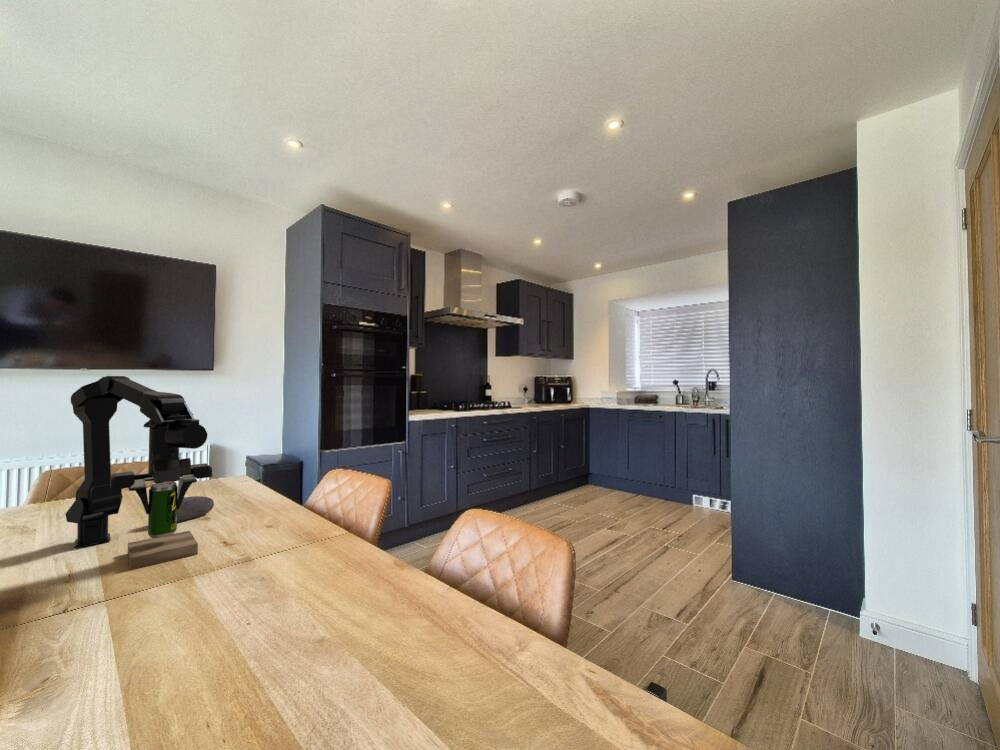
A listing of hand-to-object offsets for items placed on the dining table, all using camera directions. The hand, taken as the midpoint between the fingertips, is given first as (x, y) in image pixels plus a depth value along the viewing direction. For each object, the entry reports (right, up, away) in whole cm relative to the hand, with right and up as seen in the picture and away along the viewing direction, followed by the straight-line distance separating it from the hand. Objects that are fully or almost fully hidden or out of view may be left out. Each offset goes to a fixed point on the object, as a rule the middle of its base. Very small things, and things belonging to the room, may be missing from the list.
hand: (162, 511), depth 100 cm
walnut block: (0, -10, 0) cm, 10 cm away
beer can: (0, -6, 0) cm, 6 cm away
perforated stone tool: (-13, -11, +25) cm, 30 cm away
